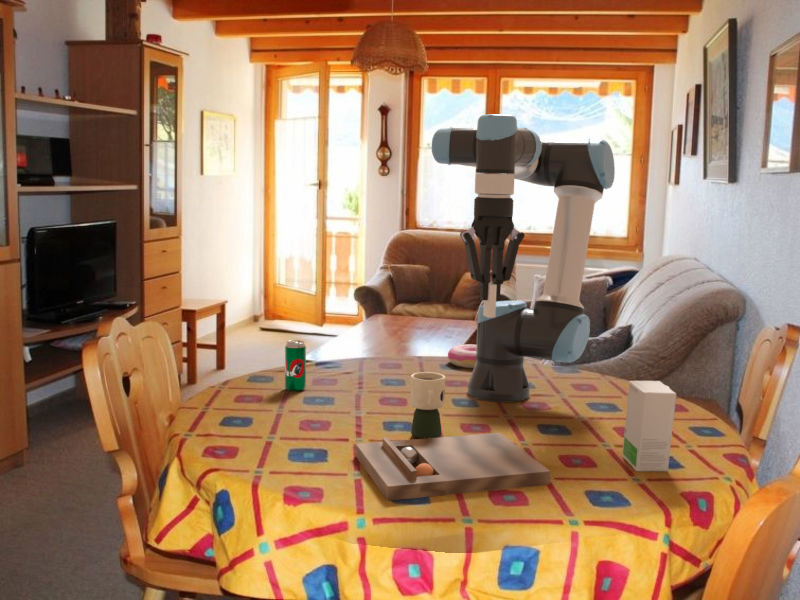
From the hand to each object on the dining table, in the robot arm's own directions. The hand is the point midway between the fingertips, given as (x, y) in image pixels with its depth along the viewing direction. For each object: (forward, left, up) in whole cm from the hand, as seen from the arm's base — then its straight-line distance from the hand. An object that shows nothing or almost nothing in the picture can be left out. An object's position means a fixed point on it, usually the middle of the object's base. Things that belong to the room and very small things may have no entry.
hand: (489, 316), depth 165 cm
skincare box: (-26, +18, -27) cm, 41 cm away
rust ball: (+18, +17, -25) cm, 35 cm away
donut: (-23, -65, -27) cm, 74 cm away
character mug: (+10, -7, -27) cm, 29 cm away
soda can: (+30, -49, -27) cm, 63 cm away
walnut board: (+12, +12, -26) cm, 31 cm away
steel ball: (+19, +8, -25) cm, 32 cm away
